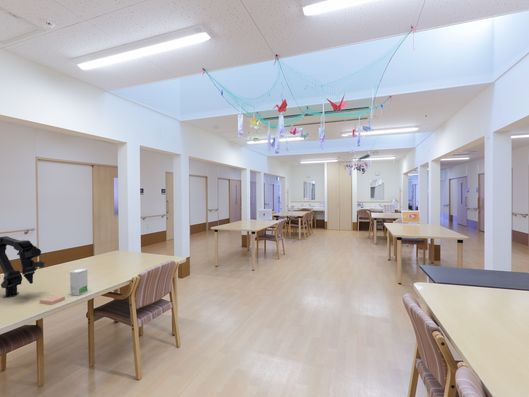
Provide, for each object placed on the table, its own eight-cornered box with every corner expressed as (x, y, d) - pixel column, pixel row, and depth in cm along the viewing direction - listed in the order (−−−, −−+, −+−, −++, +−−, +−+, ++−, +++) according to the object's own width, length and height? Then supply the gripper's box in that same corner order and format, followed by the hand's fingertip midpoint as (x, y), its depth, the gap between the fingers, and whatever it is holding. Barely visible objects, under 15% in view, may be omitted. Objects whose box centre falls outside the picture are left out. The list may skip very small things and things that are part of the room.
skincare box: (78, 295, 178) (78, 272, 178) (69, 295, 179) (69, 271, 178) (88, 291, 186) (87, 268, 186) (79, 290, 187) (79, 268, 187)
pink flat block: (39, 299, 166) (51, 301, 163) (52, 295, 173) (64, 296, 171) (39, 303, 166) (52, 305, 163) (52, 298, 174) (64, 300, 171)
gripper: (43, 255, 173) (48, 278, 172) (41, 257, 186) (46, 279, 185) (20, 260, 165) (25, 285, 164) (19, 262, 178) (24, 285, 177)
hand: (31, 283), depth 173 cm, fingers closed
